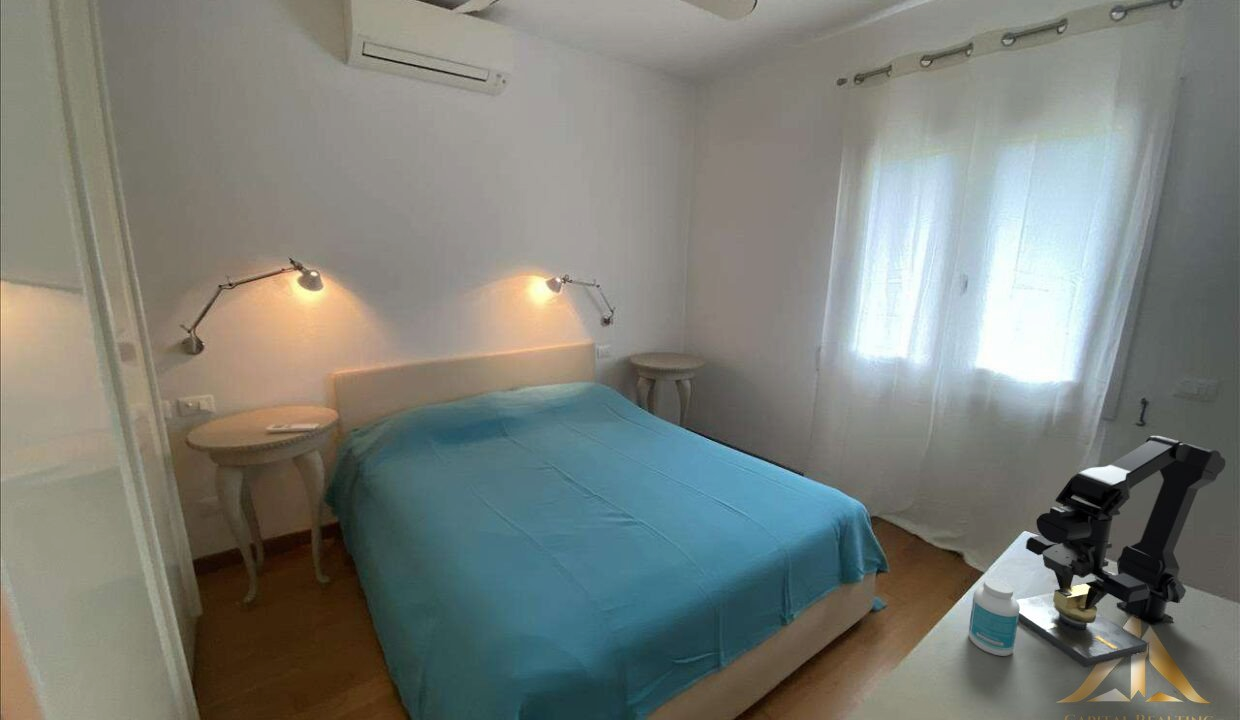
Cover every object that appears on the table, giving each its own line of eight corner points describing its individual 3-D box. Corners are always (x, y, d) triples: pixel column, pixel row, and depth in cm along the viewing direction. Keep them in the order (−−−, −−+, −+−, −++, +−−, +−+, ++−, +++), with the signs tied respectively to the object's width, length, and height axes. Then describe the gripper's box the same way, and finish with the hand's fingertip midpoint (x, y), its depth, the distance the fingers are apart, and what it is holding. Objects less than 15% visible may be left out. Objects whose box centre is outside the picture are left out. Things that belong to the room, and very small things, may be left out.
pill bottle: (1021, 660, 94) (1031, 600, 91) (979, 655, 95) (987, 595, 93) (1000, 632, 101) (1008, 575, 99) (960, 627, 103) (968, 572, 100)
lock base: (1058, 598, 111) (1061, 583, 110) (1146, 651, 96) (1150, 634, 95) (1003, 610, 108) (1005, 594, 107) (1084, 667, 92) (1088, 649, 91)
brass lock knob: (1073, 598, 105) (1077, 576, 104) (1108, 619, 99) (1112, 596, 98) (1041, 605, 103) (1044, 583, 102) (1074, 626, 97) (1078, 603, 96)
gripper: (1010, 516, 105) (1001, 579, 108) (1113, 567, 87) (1098, 641, 90) (1050, 510, 107) (1040, 572, 110) (1159, 558, 89) (1143, 631, 92)
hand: (1075, 601), depth 100 cm, fingers open, 4 cm apart
